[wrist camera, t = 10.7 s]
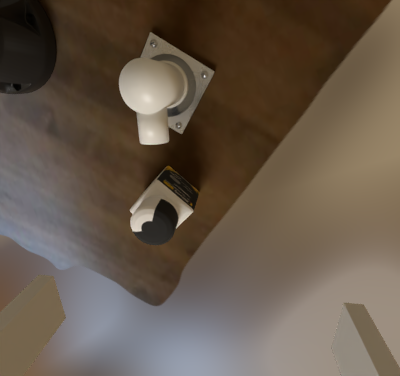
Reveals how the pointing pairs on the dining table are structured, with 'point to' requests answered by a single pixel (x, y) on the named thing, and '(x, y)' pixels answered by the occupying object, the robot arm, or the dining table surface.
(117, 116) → the dining table surface
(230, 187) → the dining table surface
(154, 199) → the medicine bottle
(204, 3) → the dining table surface
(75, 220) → the dining table surface
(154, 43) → the flange plate
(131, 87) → the elbow
